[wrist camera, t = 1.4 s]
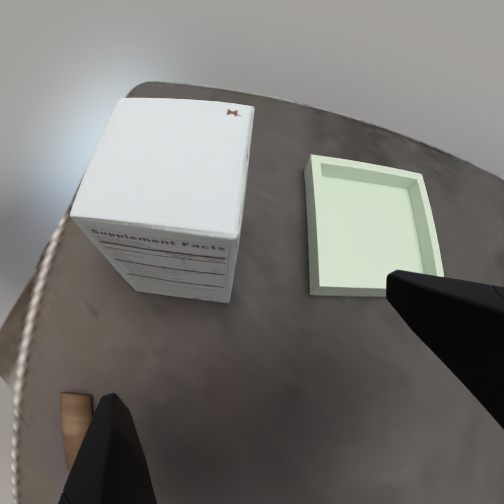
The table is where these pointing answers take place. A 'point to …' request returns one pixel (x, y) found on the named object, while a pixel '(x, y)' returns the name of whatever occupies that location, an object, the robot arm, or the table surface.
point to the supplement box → (169, 194)
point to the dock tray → (366, 226)
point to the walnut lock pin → (74, 422)
